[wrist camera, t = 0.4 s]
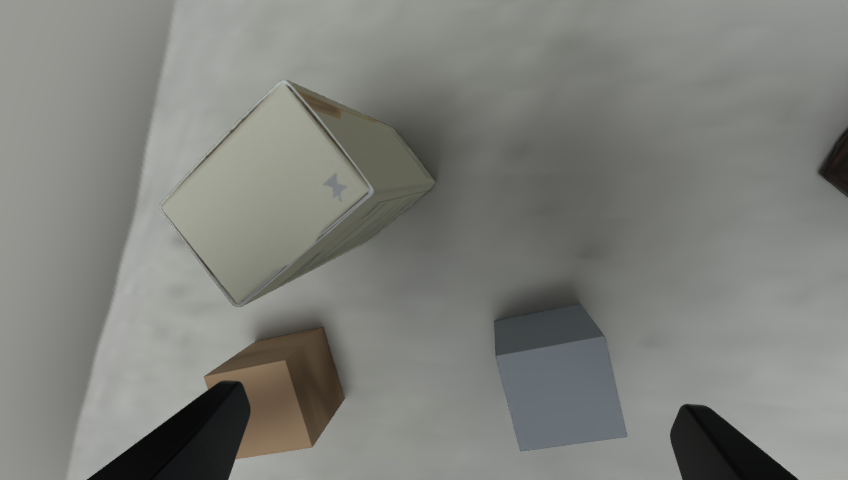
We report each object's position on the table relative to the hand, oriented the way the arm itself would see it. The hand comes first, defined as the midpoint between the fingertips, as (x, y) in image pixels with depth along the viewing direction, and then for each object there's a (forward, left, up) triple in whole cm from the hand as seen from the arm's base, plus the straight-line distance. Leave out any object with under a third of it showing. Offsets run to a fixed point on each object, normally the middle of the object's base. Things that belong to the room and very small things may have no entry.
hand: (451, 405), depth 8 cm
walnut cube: (-14, +2, -16) cm, 21 cm away
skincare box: (-2, +7, -16) cm, 17 cm away
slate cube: (-1, -7, -16) cm, 17 cm away
